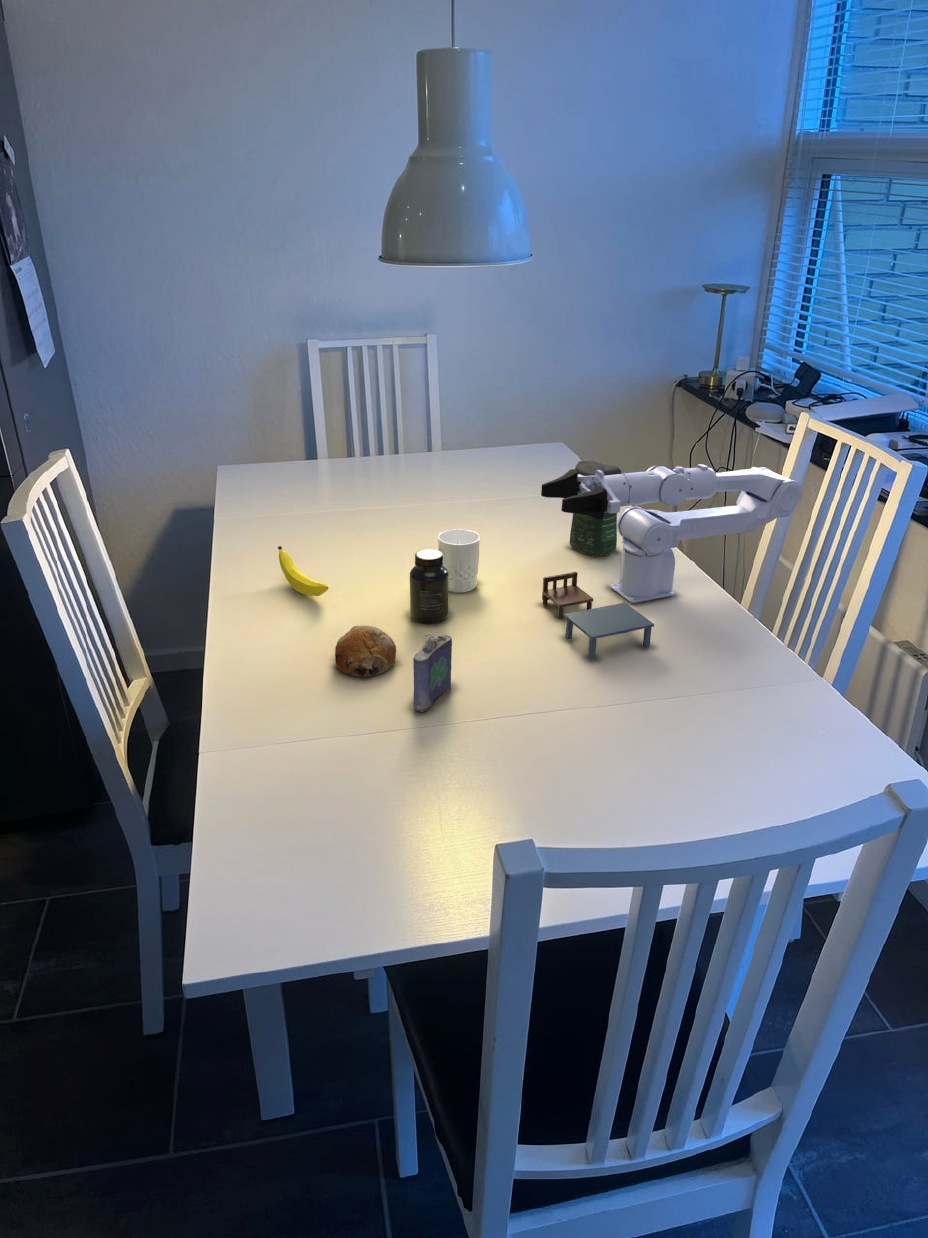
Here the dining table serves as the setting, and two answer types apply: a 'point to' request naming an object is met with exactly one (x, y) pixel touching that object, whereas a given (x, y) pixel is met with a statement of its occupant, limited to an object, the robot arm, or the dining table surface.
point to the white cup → (460, 558)
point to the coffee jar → (591, 531)
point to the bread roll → (365, 651)
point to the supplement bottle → (429, 588)
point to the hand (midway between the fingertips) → (552, 497)
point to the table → (608, 624)
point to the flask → (432, 671)
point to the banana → (299, 577)
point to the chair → (565, 593)
